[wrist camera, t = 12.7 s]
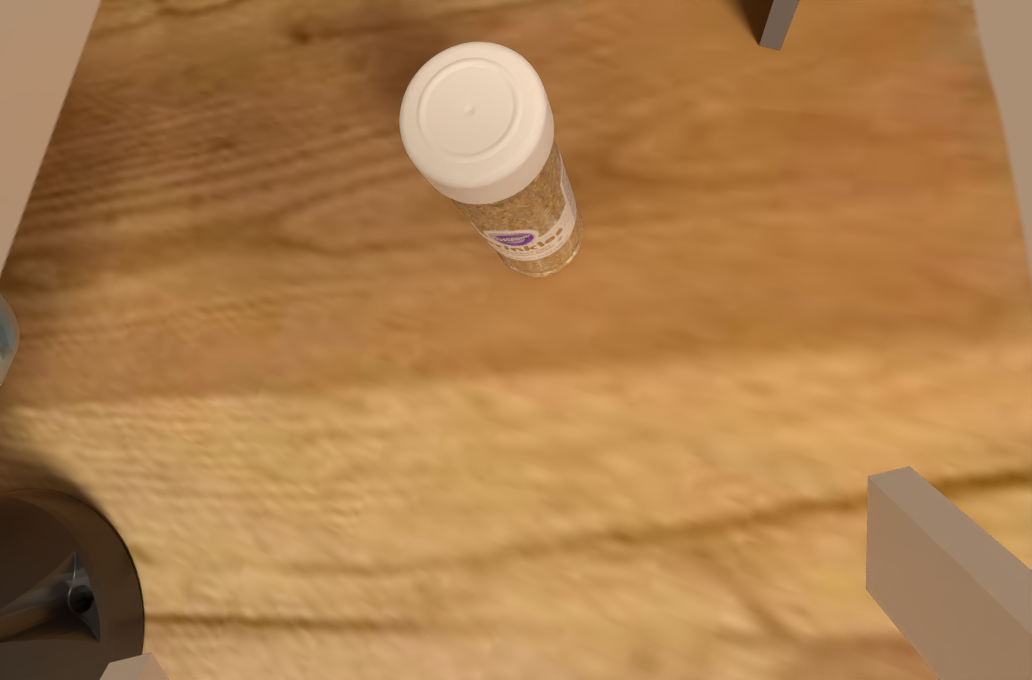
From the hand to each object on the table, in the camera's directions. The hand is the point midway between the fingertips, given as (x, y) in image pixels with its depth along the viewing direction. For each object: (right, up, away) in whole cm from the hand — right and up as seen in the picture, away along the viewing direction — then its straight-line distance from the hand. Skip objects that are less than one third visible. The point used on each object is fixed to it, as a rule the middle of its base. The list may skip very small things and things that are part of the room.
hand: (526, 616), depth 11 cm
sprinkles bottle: (+1, +10, +20) cm, 23 cm away
